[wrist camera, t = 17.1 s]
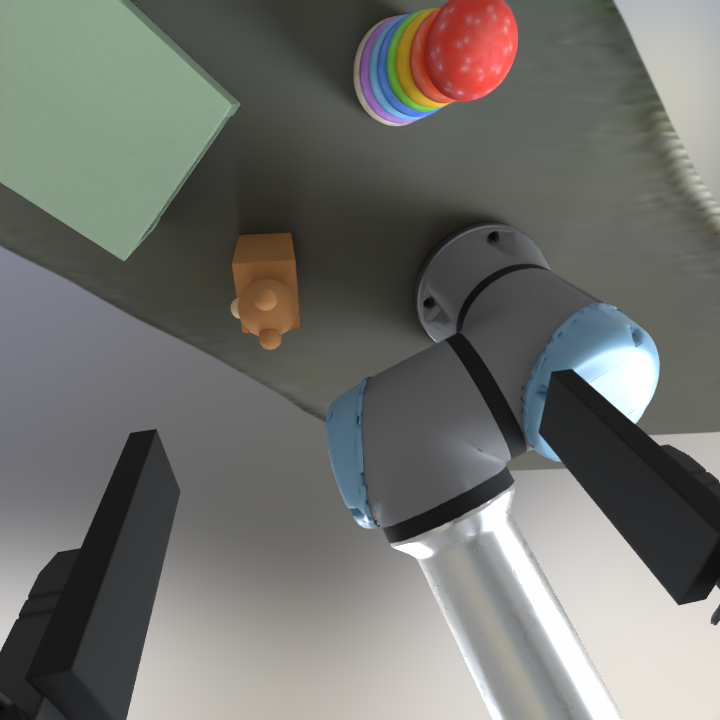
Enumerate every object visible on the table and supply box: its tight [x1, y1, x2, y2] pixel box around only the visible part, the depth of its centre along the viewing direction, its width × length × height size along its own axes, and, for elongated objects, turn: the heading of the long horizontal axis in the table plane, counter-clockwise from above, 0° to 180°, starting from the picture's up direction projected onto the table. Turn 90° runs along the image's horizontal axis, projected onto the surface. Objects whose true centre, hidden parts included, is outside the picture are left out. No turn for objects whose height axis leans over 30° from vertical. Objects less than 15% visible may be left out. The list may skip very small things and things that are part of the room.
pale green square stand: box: [0, 0, 241, 261], centre depth 32 cm, size 13×14×10 cm
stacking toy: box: [353, 0, 518, 126], centre depth 30 cm, size 8×8×19 cm
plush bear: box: [231, 233, 301, 349], centre depth 39 cm, size 6×6×14 cm
